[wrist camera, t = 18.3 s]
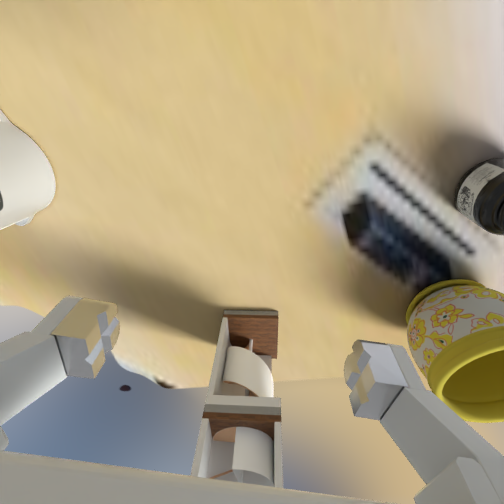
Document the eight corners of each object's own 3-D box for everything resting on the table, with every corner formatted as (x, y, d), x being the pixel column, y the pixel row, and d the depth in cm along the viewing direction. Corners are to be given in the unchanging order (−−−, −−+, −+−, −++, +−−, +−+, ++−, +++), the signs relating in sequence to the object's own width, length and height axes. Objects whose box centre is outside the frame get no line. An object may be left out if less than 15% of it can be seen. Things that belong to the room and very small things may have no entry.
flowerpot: (397, 270, 49) (448, 346, 35) (512, 261, 47) (614, 337, 33) (388, 342, 58) (425, 425, 44) (483, 337, 56) (554, 422, 42)
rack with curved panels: (276, 350, 62) (281, 605, 32) (228, 349, 62) (188, 597, 32) (278, 311, 56) (285, 578, 26) (224, 310, 56) (171, 569, 27)
